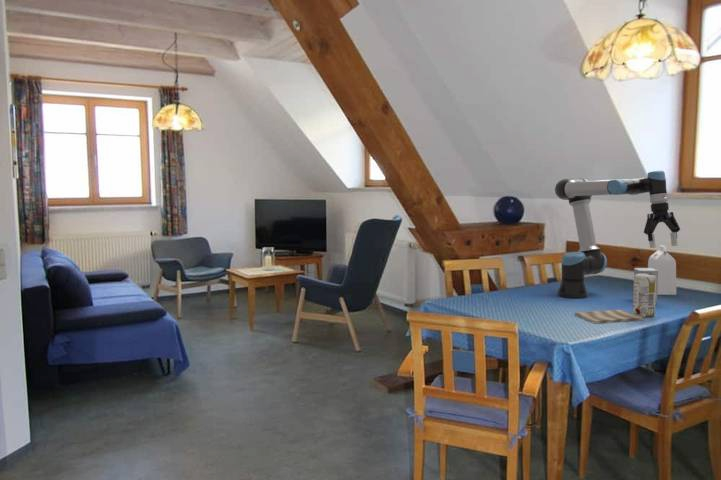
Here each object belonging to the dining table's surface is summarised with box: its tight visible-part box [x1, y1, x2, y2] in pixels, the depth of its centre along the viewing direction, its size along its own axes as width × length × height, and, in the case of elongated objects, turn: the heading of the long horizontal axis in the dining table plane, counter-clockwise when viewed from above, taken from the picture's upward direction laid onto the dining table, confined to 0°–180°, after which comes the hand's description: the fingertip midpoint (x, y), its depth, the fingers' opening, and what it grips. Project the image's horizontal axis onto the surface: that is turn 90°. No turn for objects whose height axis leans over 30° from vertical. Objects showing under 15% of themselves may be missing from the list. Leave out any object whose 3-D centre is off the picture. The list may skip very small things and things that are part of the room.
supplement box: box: [632, 267, 658, 304], centre depth 286 cm, size 10×9×17 cm
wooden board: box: [574, 309, 645, 324], centre depth 255 cm, size 24×16×1 cm, turn 100°
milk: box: [647, 244, 677, 296], centre depth 306 cm, size 12×12×26 cm
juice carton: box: [632, 273, 656, 318], centre depth 258 cm, size 8×9×19 cm
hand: (663, 246), depth 268 cm, fingers open, 13 cm apart
